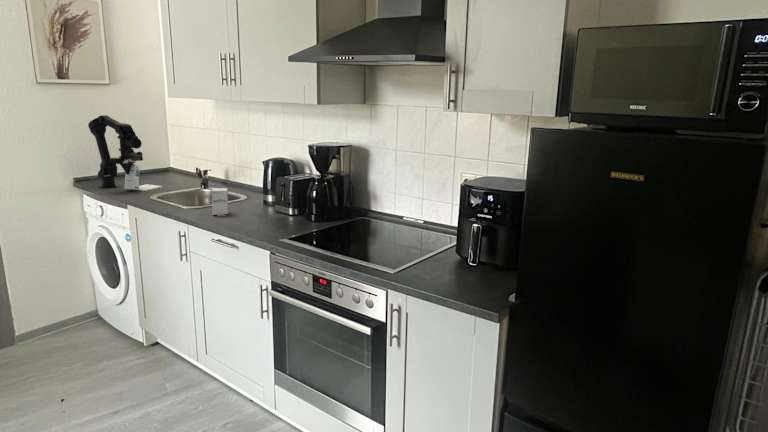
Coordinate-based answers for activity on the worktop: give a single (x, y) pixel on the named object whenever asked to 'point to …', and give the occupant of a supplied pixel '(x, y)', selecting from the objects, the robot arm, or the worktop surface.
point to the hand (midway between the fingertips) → (127, 174)
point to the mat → (148, 187)
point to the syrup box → (133, 178)
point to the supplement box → (219, 201)
